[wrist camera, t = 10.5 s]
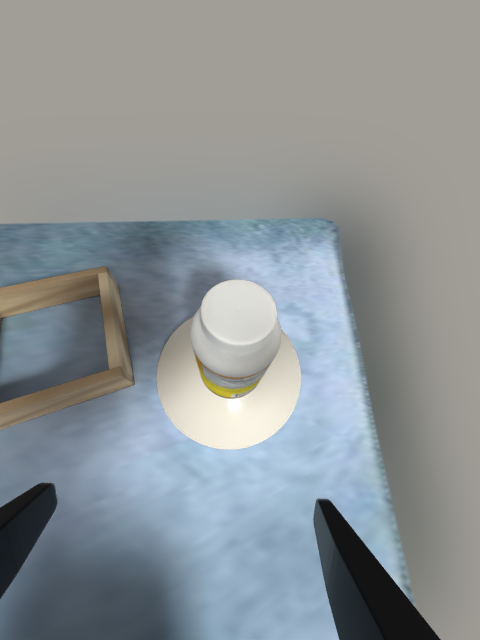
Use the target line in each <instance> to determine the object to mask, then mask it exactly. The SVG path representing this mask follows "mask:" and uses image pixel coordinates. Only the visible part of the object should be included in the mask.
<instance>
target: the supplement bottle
mask: <svg viewBox="0 0 480 640" xmlns="http://www.w3.org/2000/svg"><path fill="white" fill-rule="evenodd" d="M190 338H191V344H192V348H193V351H194V355H195V358H196V362H197V365H198V368H199V371H200V375H201V378H202V380H203V382H204V384H205V386H206V387H207V388H208V389H209V390H210V391H211V392H212V393H214V394H215V395H217V396H219V397H222V398H226V399H236V398H241V397H243V396H246V395H247V394H249V393H250V392H252V391H253V390H254V389H255V388H256V386H257V385H258V383H259V382H260V380H261V379H262V377H263V376H264V374H265V373H266V371H267V369H268V368H269V366H270V365H271V363H272V361H273V360H274V358H275V356H276V355H277V352H278V350H279V347H280V344H281V327H280V323H279V321H278V318H277V309H276V305H275V302H274V300H273V298H272V297H271V295H270V294H269V293H268V292H267V291H266V290H265V289H264V288H262V287H261V286H259V285H258V284H256V283H253V282H250V281H247V280H240V279H234V280H227V281H224V282H221V283H219V284H217V285H215V286H214V287H212V288H211V289H210V290H209V291H208V292H207V293H206V295H205V296H204V298H203V301H202V304H201V307H200V308H199V309H198V311H197V312H196V314H195V315H194V317H193V320H192V323H191V328H190Z"/></svg>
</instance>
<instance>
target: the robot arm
mask: <svg viewBox="0 0 480 640" xmlns="http://www.w3.org/2000/svg"><path fill="white" fill-rule="evenodd" d="M56 506H57V496H56V490H55V485H54V484H53V483H40V484H38V485H36V486H34V487H33V488H31V489H29V490H28V491H26V492H25V493H23V494H21V495H20V496H18V497H17V498H15V499H13V500H12V501H10V502H9V503H7V504H5V505H4V506H2V507H1V508H0V598H1V597H2V596H3V594H4V593H5V591H6V590H7V588H8V587H9V585H10V584H11V582H12V581H13V579H14V578H15V576H16V575H17V573H18V572H19V570H20V568H21V567H22V565H23V563H24V562H25V560H26V558H27V557H28V555H29V553H30V552H31V550H32V548H33V547H34V545H35V543H36V541H37V540H38V538H39V536H40V535H41V533H42V531H43V530H44V528H45V526H46V524H47V523H48V521H49V519H50V518H51V516H52V514H53V513H54V511H55V509H56ZM314 528H315V533H316V539H317V544H318V549H319V555H320V560H321V565H322V570H323V576H324V581H325V586H326V591H327V595H328V599H329V603H330V607H331V610H332V614H333V618H334V621H335V625H336V629H337V633H338V636H339V640H440V639H439V637H438V636H437V635H436V634H435V632H434V631H433V630H432V628H431V627H430V626H429V625H428V623H427V622H426V621H425V619H424V618H423V617H422V616H421V614H420V613H419V612H418V611H417V609H416V608H415V607H414V606H413V604H412V603H411V602H410V601H409V599H408V598H407V597H406V595H405V594H404V593H403V592H402V590H401V589H400V588H399V587H398V585H397V584H396V583H395V582H394V580H393V579H392V578H391V577H390V575H389V574H388V573H387V572H386V570H385V569H384V568H383V567H382V565H381V564H380V563H379V561H378V560H377V559H376V558H375V556H374V555H373V554H372V553H371V551H370V550H369V549H368V548H367V546H366V545H365V544H364V543H363V541H362V540H361V539H360V538H359V536H358V535H357V534H356V533H355V531H354V530H353V529H352V527H351V526H350V525H349V524H348V522H347V521H346V520H345V519H344V517H343V516H342V515H341V514H340V512H339V511H338V510H337V509H336V507H335V506H334V505H333V504H332V502H331V501H330V500H328V499H317V500H316V504H315V511H314Z"/></svg>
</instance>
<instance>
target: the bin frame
mask: <svg viewBox="0 0 480 640" xmlns="http://www.w3.org/2000/svg"><path fill="white" fill-rule="evenodd" d="M98 295H100V296H101V304H102V313H103V321H104V330H105V338H106V347H107V355H108V364H109V369H108V370H105V371H102V372H99V373H95V374H92V375H89V376H86V377H83V378H79V379H76V380H73V381H70V382H67V383H63V384H60V385H57V386H54V387H51V388H47V389H44V390H41V391H38V392H35V393H31V394H28V395H25V396H22V397H18V398H15V399H12V400H9V401H6V402H2V403H0V430H1V429H4V428H7V427H10V426H13V425H16V424H19V423H22V422H25V421H28V420H31V419H34V418H37V417H40V416H43V415H46V414H49V413H52V412H55V411H58V410H61V409H64V408H66V407H69V406H72V405H75V404H78V403H81V402H84V401H87V400H90V399H93V398H96V397H99V396H102V395H105V394H108V393H111V392H114V391H117V390H120V389H123V388H126V387H129V386H132V385H134V378H133V372H132V366H131V360H130V354H129V348H128V342H127V336H126V330H125V324H124V318H123V312H122V306H121V300H120V294H119V288H118V284H117V283H116V281H115V279H114V278H113V276H112V275H111V273H110V272H109V270H108V268H107V267H106V266H104V267H99V268H94V269H89V270H84V271H79V272H75V273H70V274H65V275H60V276H55V277H50V278H45V279H41V280H36V281H31V282H26V283H21V284H16V285H11V286H7V287H2V288H0V325H1V318H4V317H8V316H12V315H17V314H21V313H25V312H29V311H34V310H38V309H42V308H46V307H51V306H55V305H59V304H64V303H68V302H72V301H76V300H81V299H85V298H89V297H93V296H98Z"/></svg>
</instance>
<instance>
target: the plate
mask: <svg viewBox="0 0 480 640" xmlns="http://www.w3.org/2000/svg"><path fill="white" fill-rule="evenodd" d="M193 317H194V316H193ZM193 317H191V318H190V319H188V320H187V321H185V322H184V323H183V324H181V325H180V326H179V327H178V328H177V329H176V330H175V331H174V333H173V334H172V335H171V336H170V338H169V339H168V341H167V342H166V344H165V346H164V348H163V350H162V353H161V355H160V359H159V362H158V368H157V389H158V394H159V398H160V401H161V404H162V406H163V408H164V411H165V412H166V414H167V416H168V417H169V419H170V420H171V421H172V423H173V424H174V425H175V426H176V427H177V428H178V429H179V430H180V431H181V432H182V433H183V434H184V435H186V436H187V437H189V438H190V439H192V440H194V441H196V442H198V443H200V444H202V445H205V446H209V447H212V448H217V449H240V448H246V447H249V446H252V445H255V444H258V443H260V442H262V441H264V440H266V439H267V438H269V437H270V436H272V435H273V434H274V433H276V432H277V431H278V430H279V429H280V428H281V427H282V426H283V425H284V423H285V422H286V421H287V420H288V418H289V417H290V415H291V413H292V412H293V410H294V408H295V405H296V403H297V400H298V396H299V392H300V385H301V370H300V364H299V360H298V357H297V354H296V351H295V349H294V347H293V345H292V343H291V341H290V340H289V338H288V337H287V336H286V334H285V333H284V332H283V331H282V330H281V344H280V347H279V350H278V352H277V355H276V356H275V358H274V360H273V361H272V363H271V365H270V366H269V368H268V369H267V371H266V373H265V374H264V376H263V377H262V379H261V380H260V382H259V383H258V385H257V386H256V388H255V389H254V390H253V391H252V392H250V393H249V394H247V395H246V396H243V397H241V398H236V399H226V398H222V397H219V396H217V395H215V394H214V393H212V392H211V391H210V390H209V389H208V388H207V387H206V386H205V384H204V382H203V380H202V378H201V375H200V371H199V368H198V365H197V362H196V358H195V355H194V351H193V348H192V344H191V338H190V328H191V323H192V320H193Z"/></svg>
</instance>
